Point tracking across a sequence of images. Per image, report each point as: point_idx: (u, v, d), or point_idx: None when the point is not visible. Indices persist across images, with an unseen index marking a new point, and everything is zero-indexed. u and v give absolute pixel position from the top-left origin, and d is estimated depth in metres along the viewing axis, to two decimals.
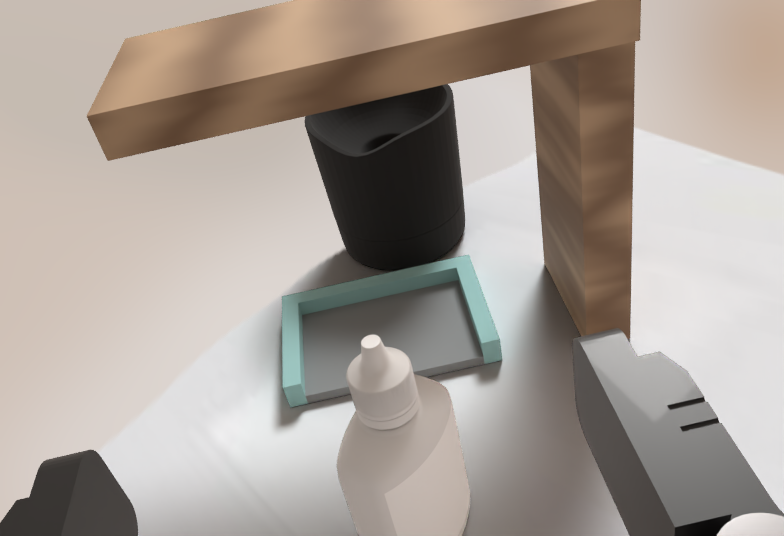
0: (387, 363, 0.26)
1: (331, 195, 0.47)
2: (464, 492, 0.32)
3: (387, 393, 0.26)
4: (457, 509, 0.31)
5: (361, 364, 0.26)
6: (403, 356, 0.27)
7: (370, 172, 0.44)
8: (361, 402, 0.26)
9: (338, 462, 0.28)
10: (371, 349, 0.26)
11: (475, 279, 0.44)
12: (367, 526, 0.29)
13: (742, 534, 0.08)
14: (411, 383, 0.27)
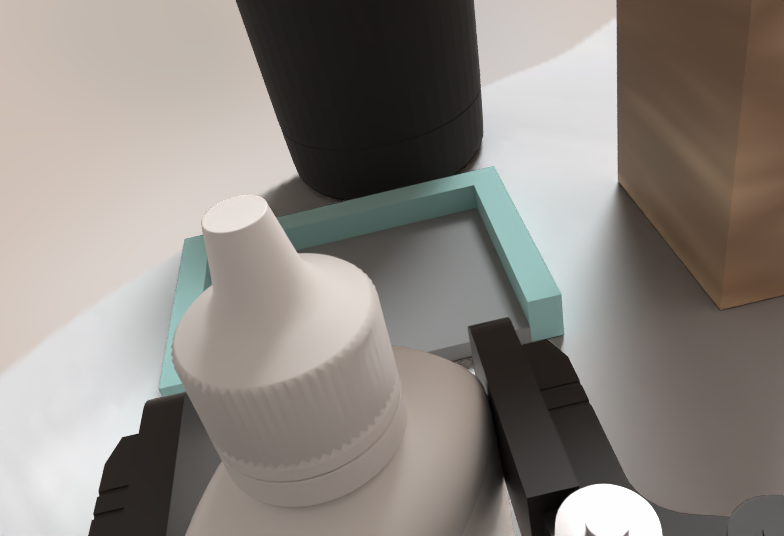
0: (294, 290, 0.08)
1: (267, 75, 0.29)
2: None
3: (294, 390, 0.07)
4: None
5: (212, 297, 0.08)
6: (354, 275, 0.09)
7: (325, 17, 0.25)
8: (215, 421, 0.08)
9: None
10: (232, 236, 0.07)
11: (507, 201, 0.26)
12: None
13: (584, 503, 0.09)
14: (379, 359, 0.08)
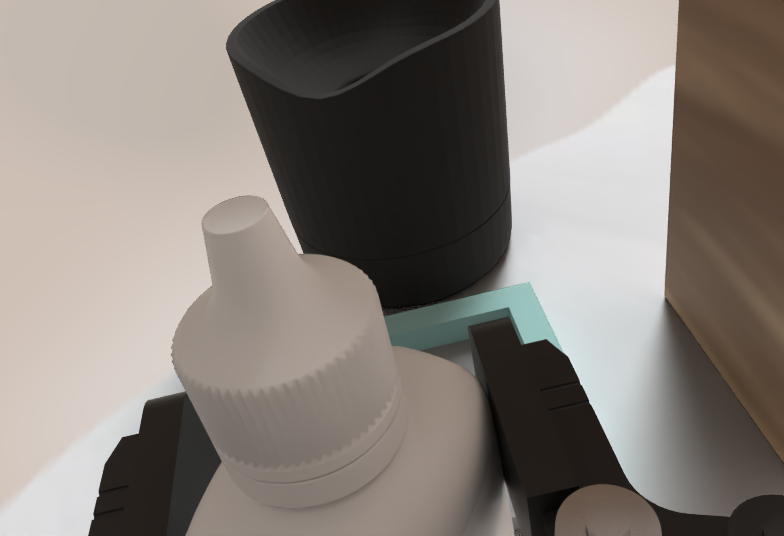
0: (295, 291, 0.08)
1: (279, 177, 0.26)
2: None
3: (295, 392, 0.07)
4: None
5: (213, 298, 0.08)
6: (354, 276, 0.09)
7: (346, 130, 0.23)
8: (215, 423, 0.08)
9: None
10: (233, 237, 0.07)
11: (548, 331, 0.23)
12: None
13: (583, 503, 0.09)
14: (379, 360, 0.08)
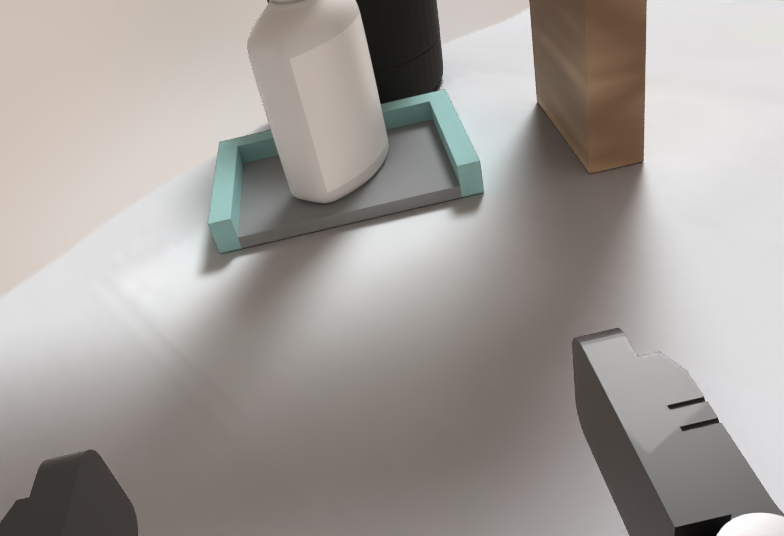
0: None
1: None
2: (379, 124, 0.34)
3: None
4: (370, 131, 0.33)
5: None
6: None
7: None
8: None
9: (248, 40, 0.29)
10: None
11: (452, 109, 0.36)
12: (279, 116, 0.31)
13: (742, 534, 0.08)
14: None
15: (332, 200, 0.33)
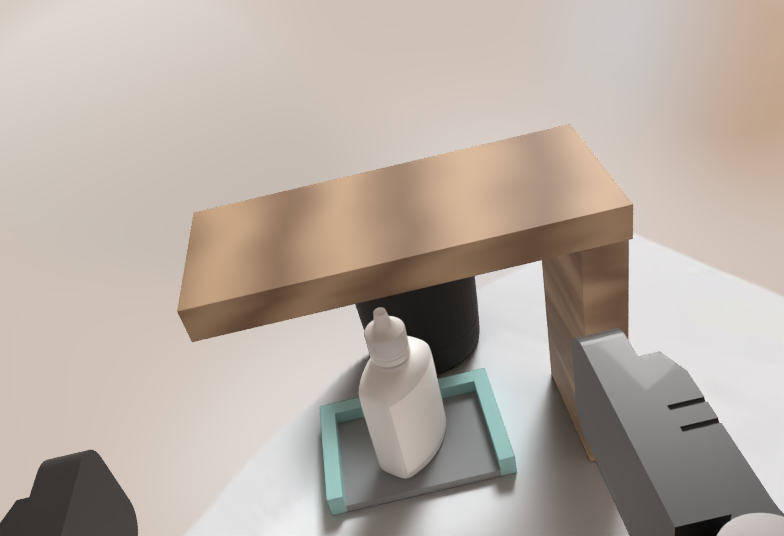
0: (389, 325, 0.42)
1: (362, 314, 0.53)
2: (441, 416, 0.48)
3: (390, 343, 0.42)
4: (436, 425, 0.47)
5: (373, 326, 0.42)
6: (399, 321, 0.43)
7: (398, 301, 0.50)
8: (373, 350, 0.42)
9: (359, 389, 0.44)
10: (380, 316, 0.42)
11: (491, 394, 0.50)
12: (378, 432, 0.45)
13: (742, 534, 0.08)
14: (405, 337, 0.43)
15: (410, 476, 0.47)
